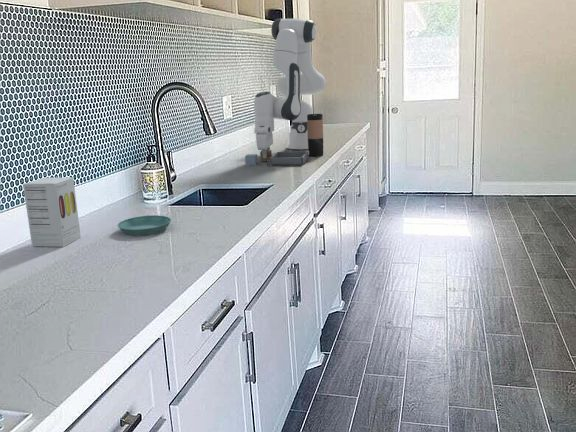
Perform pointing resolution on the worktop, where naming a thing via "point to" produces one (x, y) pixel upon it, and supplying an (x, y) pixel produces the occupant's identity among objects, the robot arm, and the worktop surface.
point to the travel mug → (315, 134)
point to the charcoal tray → (289, 158)
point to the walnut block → (269, 154)
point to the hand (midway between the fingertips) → (266, 156)
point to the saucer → (144, 225)
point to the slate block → (251, 159)
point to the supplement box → (52, 211)
